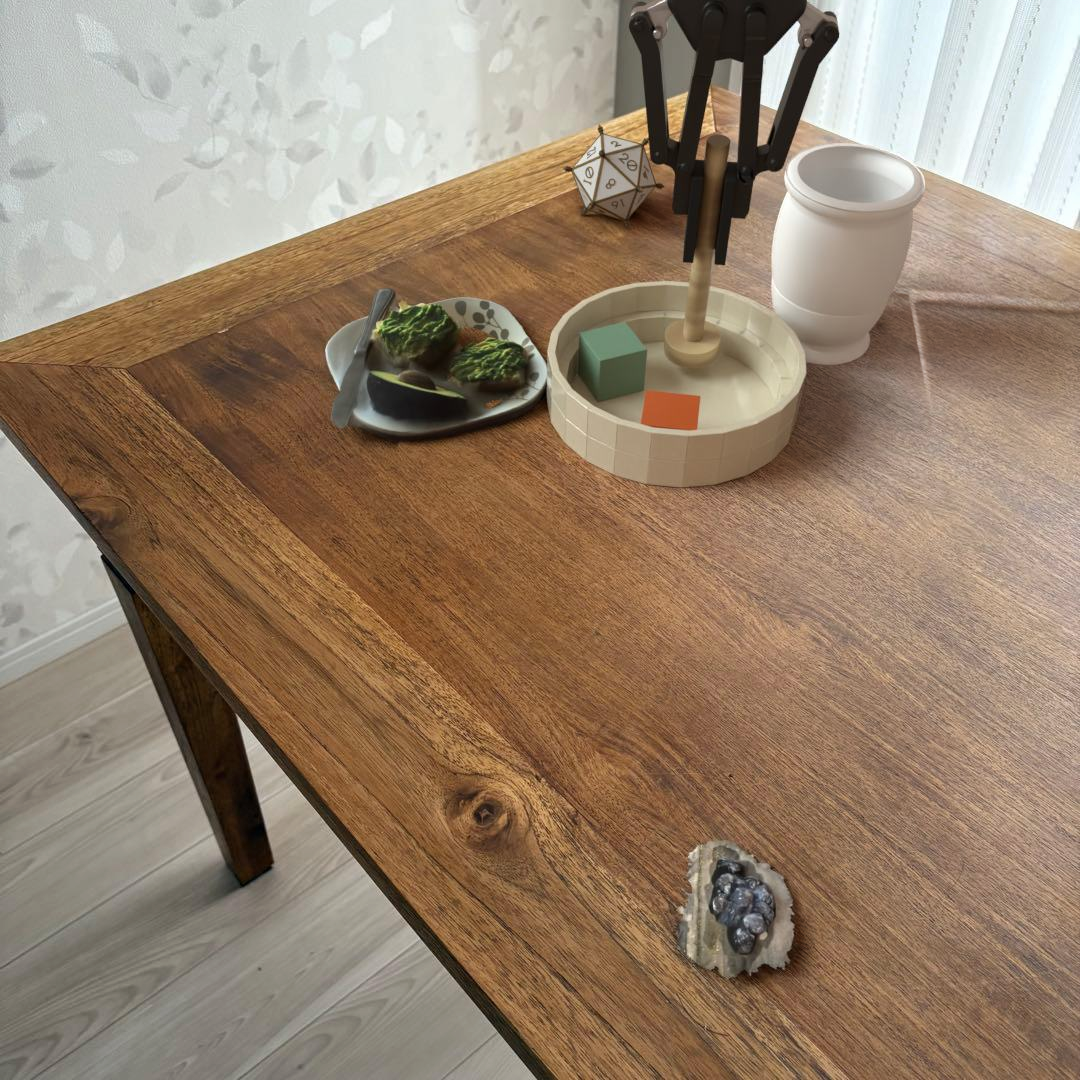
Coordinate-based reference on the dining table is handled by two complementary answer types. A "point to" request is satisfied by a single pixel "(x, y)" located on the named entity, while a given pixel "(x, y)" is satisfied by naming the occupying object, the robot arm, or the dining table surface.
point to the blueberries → (734, 911)
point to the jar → (841, 244)
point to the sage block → (611, 361)
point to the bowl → (681, 388)
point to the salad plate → (432, 369)
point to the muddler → (701, 269)
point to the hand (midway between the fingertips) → (704, 253)
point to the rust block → (670, 410)
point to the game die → (614, 176)
